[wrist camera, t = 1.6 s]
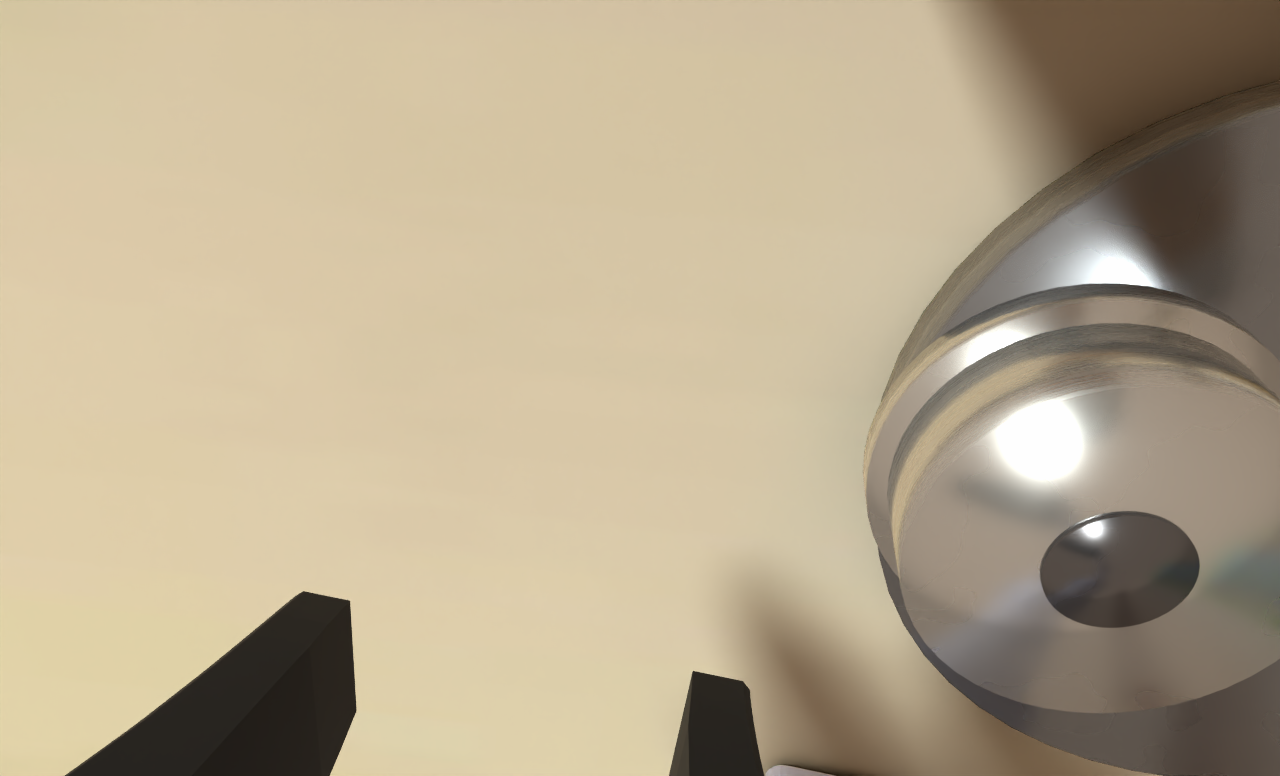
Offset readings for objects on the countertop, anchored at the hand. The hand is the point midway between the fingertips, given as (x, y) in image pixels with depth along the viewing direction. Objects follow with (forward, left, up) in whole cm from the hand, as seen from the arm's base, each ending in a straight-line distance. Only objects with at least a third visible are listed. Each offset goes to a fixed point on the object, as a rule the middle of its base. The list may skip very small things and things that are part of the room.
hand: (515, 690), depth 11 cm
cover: (0, -9, -8) cm, 12 cm away
